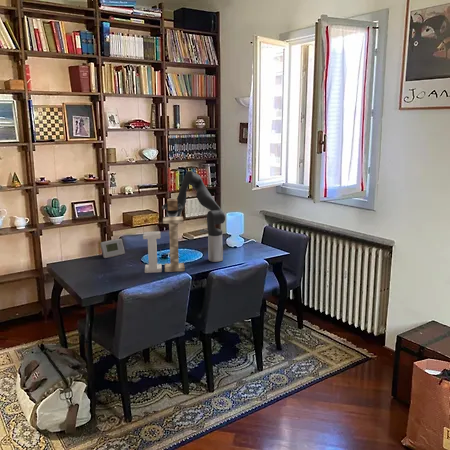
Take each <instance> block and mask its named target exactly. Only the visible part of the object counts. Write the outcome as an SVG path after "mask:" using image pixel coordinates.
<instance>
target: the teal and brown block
mask: <svg viewBox="0 0 450 450" xmlns="http://www.w3.org/2000/svg"><path fill="white" fill-rule="evenodd" d="M166 203H167V204H168V211H171V210H178V206H177V198H167V202H166Z"/></svg>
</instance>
